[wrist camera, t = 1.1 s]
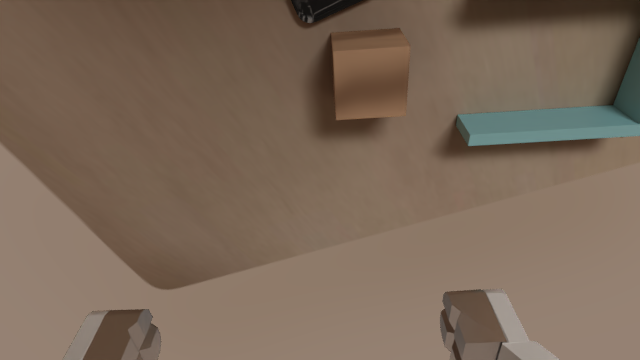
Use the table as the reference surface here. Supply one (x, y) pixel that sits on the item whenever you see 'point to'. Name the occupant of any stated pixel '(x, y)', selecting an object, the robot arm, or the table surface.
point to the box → (561, 119)
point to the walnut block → (370, 73)
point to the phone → (319, 8)
